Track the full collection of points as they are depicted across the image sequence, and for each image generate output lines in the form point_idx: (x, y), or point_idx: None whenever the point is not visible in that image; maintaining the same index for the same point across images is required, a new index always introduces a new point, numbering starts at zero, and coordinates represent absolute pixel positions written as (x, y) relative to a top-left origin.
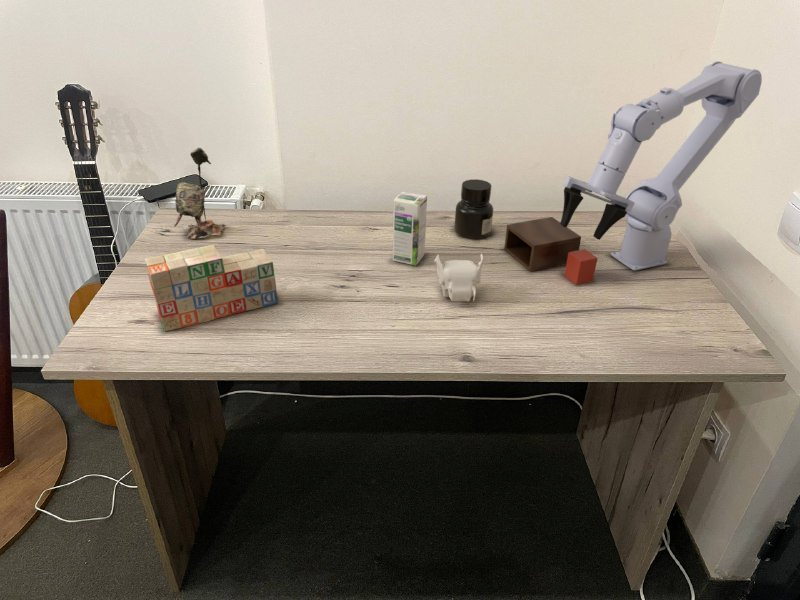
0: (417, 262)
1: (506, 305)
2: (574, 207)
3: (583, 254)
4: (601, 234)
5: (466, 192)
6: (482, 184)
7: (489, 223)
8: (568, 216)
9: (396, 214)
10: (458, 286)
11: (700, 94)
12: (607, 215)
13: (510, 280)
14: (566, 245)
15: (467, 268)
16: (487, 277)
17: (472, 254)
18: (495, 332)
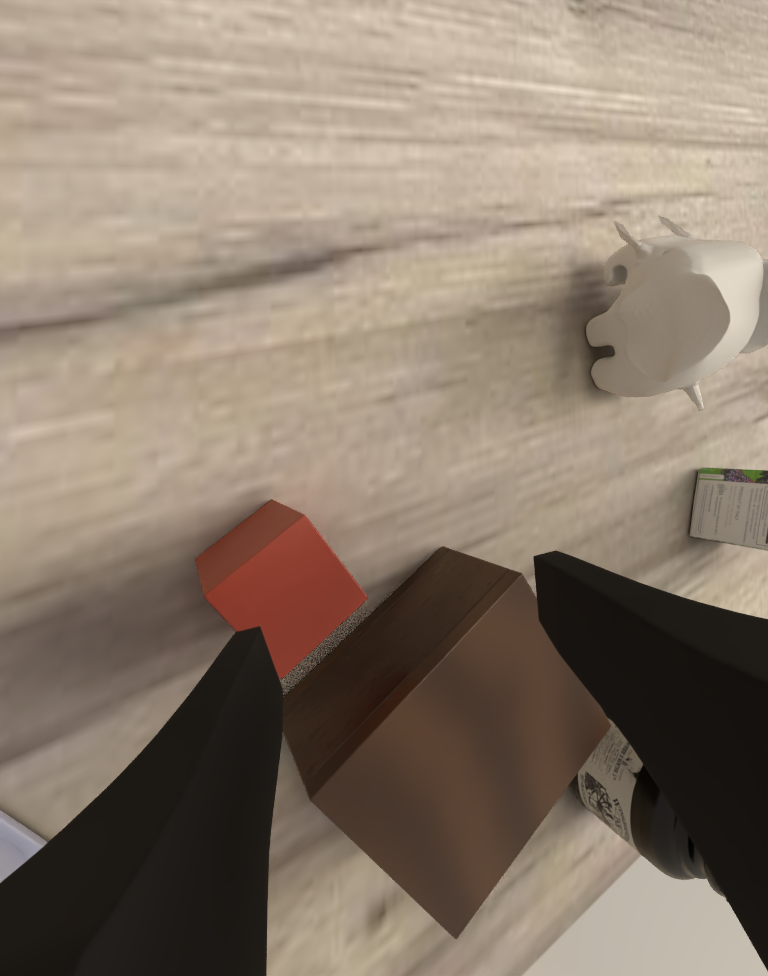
0: (703, 478)
1: (500, 291)
2: (701, 629)
3: (290, 606)
4: (234, 654)
5: None
6: None
7: (615, 765)
8: (622, 577)
9: None
10: (682, 240)
11: None
12: (224, 895)
13: (497, 462)
14: (368, 700)
15: (721, 264)
16: (555, 461)
17: None
18: (520, 120)
